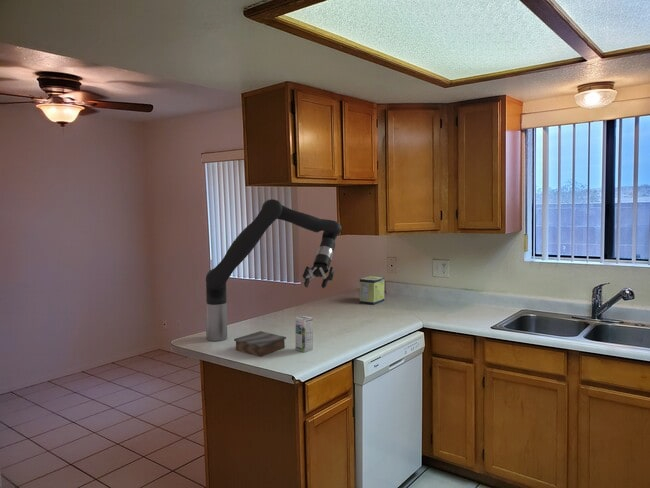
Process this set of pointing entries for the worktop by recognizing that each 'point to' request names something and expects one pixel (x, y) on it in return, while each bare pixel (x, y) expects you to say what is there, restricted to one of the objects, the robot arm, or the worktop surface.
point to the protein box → (371, 290)
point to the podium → (260, 343)
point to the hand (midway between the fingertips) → (314, 286)
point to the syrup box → (303, 333)
